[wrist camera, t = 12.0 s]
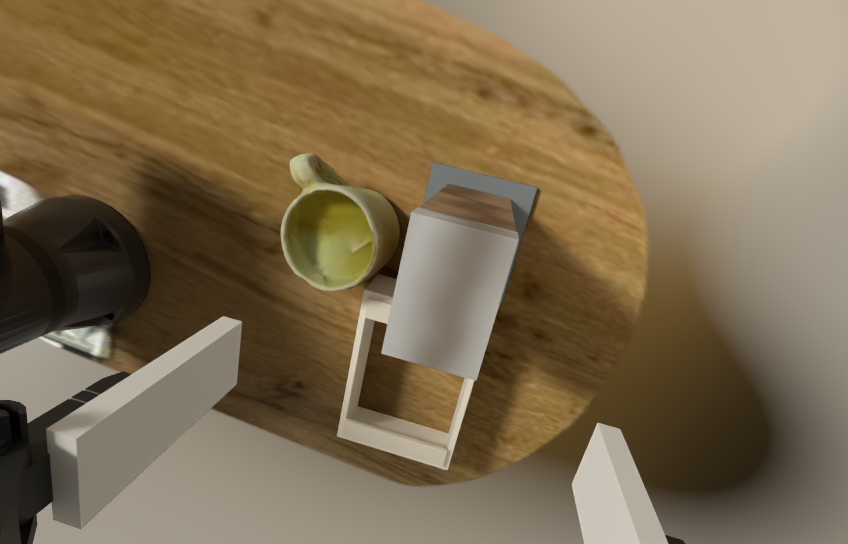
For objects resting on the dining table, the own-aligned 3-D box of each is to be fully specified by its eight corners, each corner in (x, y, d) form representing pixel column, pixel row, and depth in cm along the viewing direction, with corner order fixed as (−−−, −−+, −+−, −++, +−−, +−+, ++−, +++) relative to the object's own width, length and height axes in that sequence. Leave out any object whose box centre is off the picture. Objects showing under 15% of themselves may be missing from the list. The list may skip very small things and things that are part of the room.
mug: (428, 274, 42) (366, 292, 34) (347, 282, 48) (276, 298, 39) (410, 149, 42) (342, 134, 33) (330, 170, 47) (254, 162, 38)
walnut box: (427, 271, 44) (381, 353, 27) (448, 182, 41) (411, 212, 24) (485, 286, 43) (476, 380, 26) (511, 198, 40) (519, 239, 23)
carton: (352, 408, 51) (335, 438, 46) (378, 274, 45) (363, 291, 40) (452, 439, 50) (447, 473, 45) (492, 304, 44) (491, 326, 39)
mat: (407, 278, 45) (406, 279, 45) (433, 162, 41) (432, 162, 41) (501, 303, 44) (501, 304, 44) (536, 187, 40) (537, 187, 40)
